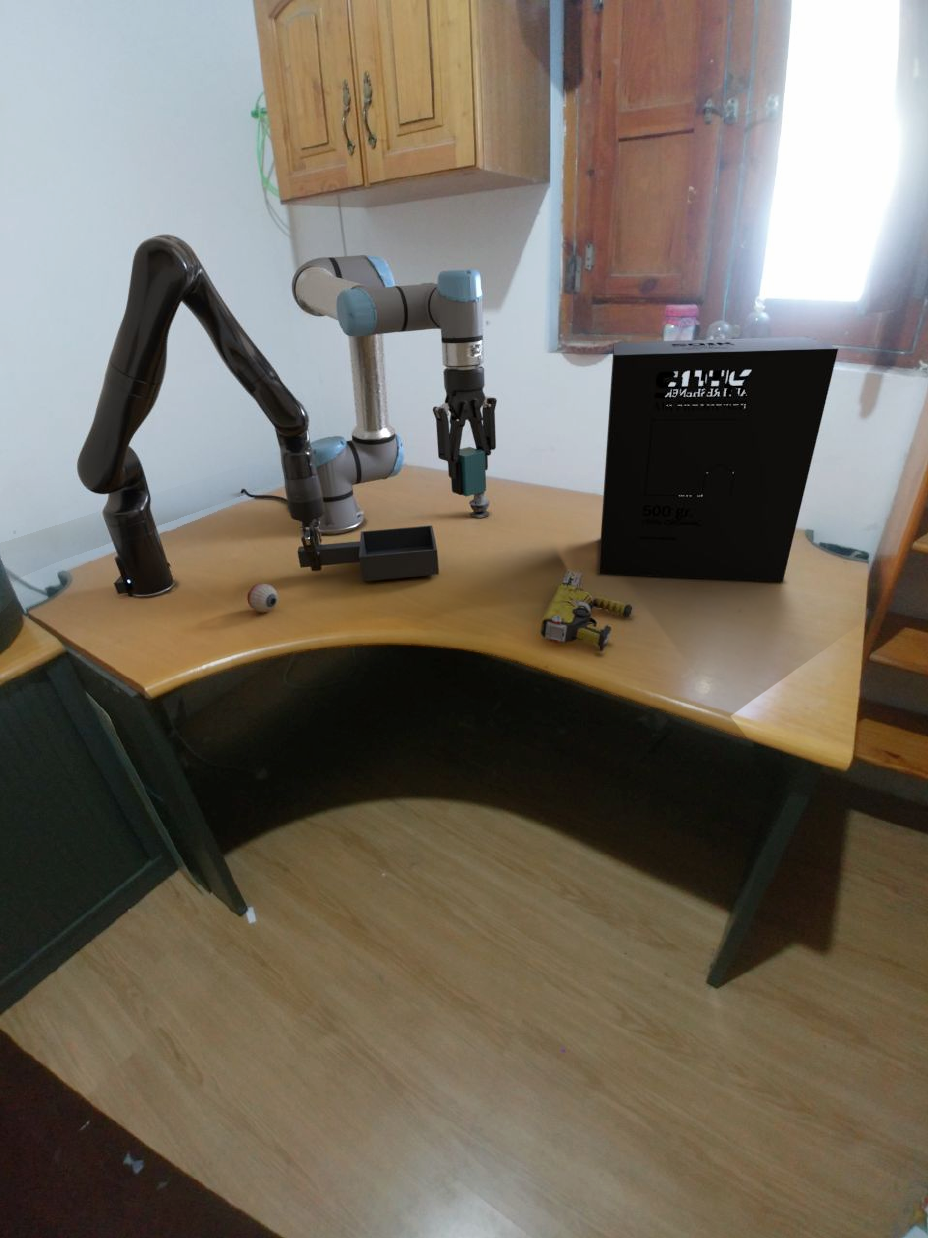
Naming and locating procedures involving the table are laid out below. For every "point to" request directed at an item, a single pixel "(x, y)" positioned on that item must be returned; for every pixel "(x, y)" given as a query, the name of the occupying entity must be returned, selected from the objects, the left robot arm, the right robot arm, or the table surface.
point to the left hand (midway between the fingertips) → (317, 566)
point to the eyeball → (262, 597)
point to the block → (472, 470)
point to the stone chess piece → (479, 505)
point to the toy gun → (578, 614)
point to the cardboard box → (710, 455)
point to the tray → (384, 553)
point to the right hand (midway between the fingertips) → (469, 489)
